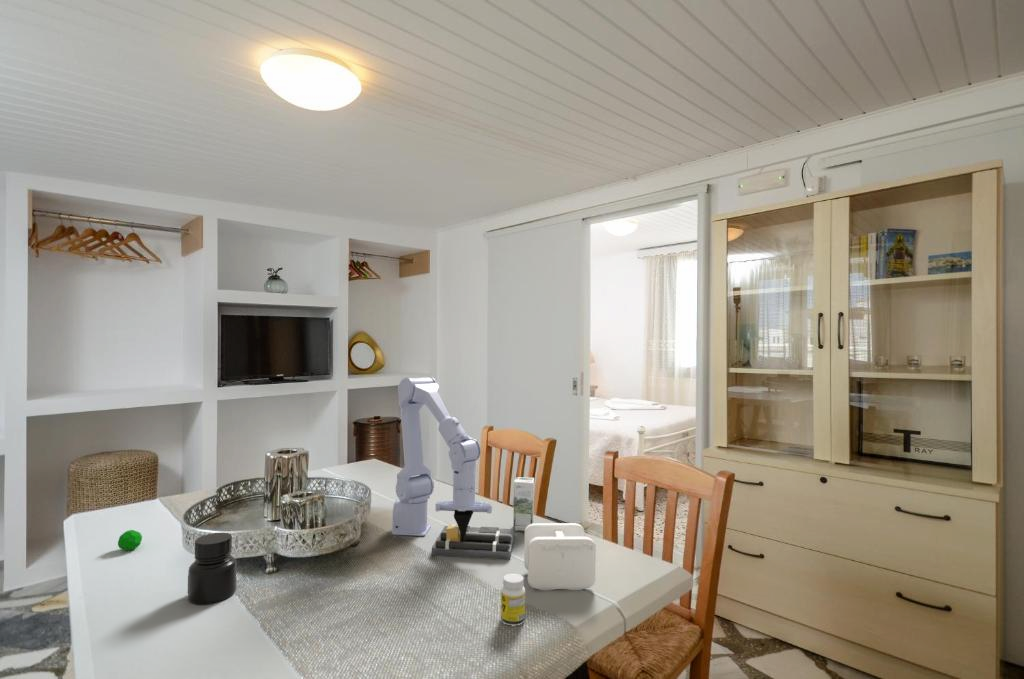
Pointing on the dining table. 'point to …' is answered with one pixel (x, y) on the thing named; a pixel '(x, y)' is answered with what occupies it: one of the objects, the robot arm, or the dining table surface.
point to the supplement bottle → (513, 599)
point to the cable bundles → (477, 537)
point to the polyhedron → (129, 540)
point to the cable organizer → (559, 556)
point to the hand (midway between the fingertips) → (463, 539)
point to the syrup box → (523, 503)
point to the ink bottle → (212, 569)
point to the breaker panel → (475, 552)
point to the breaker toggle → (453, 533)
